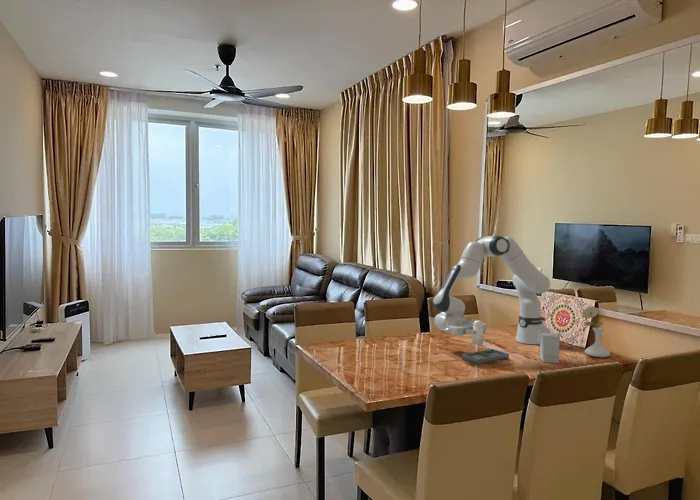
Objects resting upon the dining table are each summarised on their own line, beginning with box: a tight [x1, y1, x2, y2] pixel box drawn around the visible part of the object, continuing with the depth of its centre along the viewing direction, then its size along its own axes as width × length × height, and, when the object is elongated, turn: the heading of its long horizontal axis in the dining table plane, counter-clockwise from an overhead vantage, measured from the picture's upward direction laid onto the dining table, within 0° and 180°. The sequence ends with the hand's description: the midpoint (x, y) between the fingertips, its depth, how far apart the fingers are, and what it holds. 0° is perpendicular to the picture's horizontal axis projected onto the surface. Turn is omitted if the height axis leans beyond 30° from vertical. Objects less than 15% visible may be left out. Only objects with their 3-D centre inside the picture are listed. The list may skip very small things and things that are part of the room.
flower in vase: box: [581, 305, 611, 358], centre depth 238 cm, size 13×11×25 cm
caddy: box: [461, 348, 510, 366], centre depth 233 cm, size 20×11×2 cm, turn 120°
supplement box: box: [539, 332, 560, 364], centre depth 230 cm, size 7×7×13 cm
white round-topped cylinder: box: [472, 319, 484, 346], centre depth 229 cm, size 5×5×11 cm
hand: (479, 331), depth 229 cm, fingers closed on white round-topped cylinder, 5 cm apart
